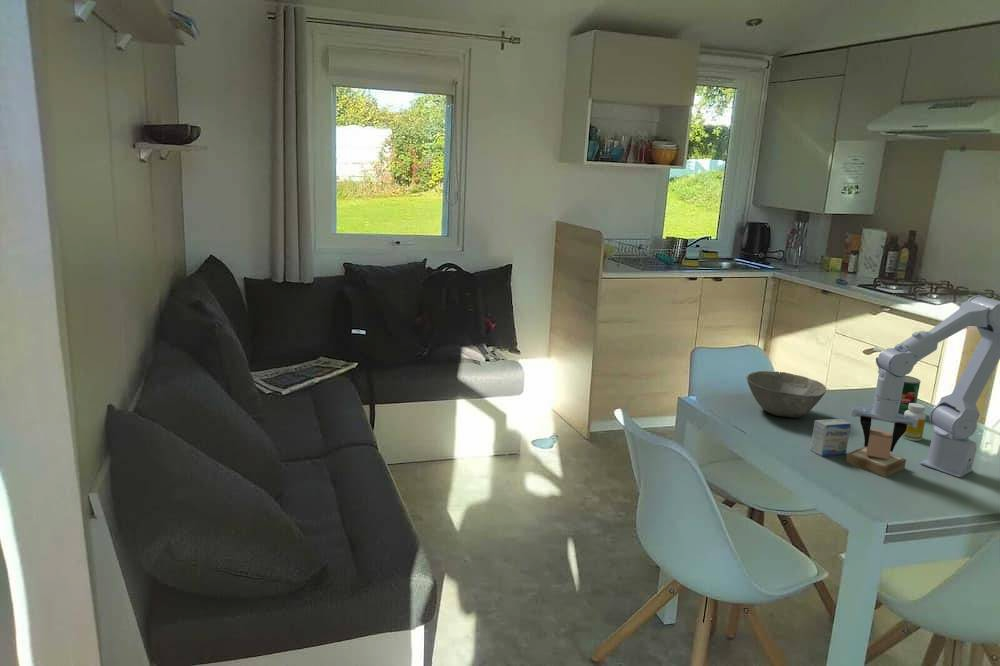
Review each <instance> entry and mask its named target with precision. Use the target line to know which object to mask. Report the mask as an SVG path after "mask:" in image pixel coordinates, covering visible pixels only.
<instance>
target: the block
mask: <svg viewBox="0 0 1000 666" xmlns="http://www.w3.org/2000/svg"><path fill="white" fill-rule="evenodd" d="M892 435H893V431H892V432H891V431H886V430H880V429H875V428H870V432H869V439H868V446H867V447H866V455H869V456H874V457H879V458H884V459H889V454H891V453H890V452H891V451H890V449H891V444H892Z"/></svg>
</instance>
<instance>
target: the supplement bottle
mask: <svg viewBox="0 0 1000 666" xmlns="http://www.w3.org/2000/svg"><path fill="white" fill-rule="evenodd" d="M908 409H909V410H907V411H905V412H904V415H906V416H909V417H914V418H918V424H917V428H915V427H912V426H908V425H907V430H906V431H905V433H904V434H903V435H902V436H901V437H900V438H902V439H905V440H908V441H914V442H917V441H918V442H919V441H921V440H922V439H923V436H924V430H925V424H926V420H927V416H926V413H924V412H925V411H926V410H925V409H926V406H925V405H923V404H922V403H918V402H916V403H909V406H908Z"/></svg>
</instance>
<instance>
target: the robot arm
mask: <svg viewBox="0 0 1000 666" xmlns="http://www.w3.org/2000/svg"><path fill="white" fill-rule="evenodd" d="M968 327H972V328H973V327H975V328H976V329H977V331H978V332H979V335H980V337H981V338H980V340H979V342H978V344H977V345H976V347H975V349H974V351H973V353H972V354H971V357H970V358H969V361H968V363H967V364H966V366H965V367H964V369H963V372H962V374H961V376H960V377H959V379H958V382H957V383H956V385H955V387H954V389H953V391H952V392H951V394H947V395H944V396H942V397H941V398H940V399H939V402H938V403H937V404H936V405H934V406H933V407H932V408H931V410H930V412H929V415H928V416H929V417H928V418H929V421H930V423H931V424H932V426H931V427H932V429H933V431H932V434H931V439H930V440H931V441H930V444H929V450H928V456H927V458H926V459H924V460H921V461H920V463H919V465H922V466H925V467H929V468H931V469H934V470H937V471H939V472H942V473H945V474H949V475H951V476H954V477H957V478H962V477H964V476H966V475H967V474H969V473H971V472H972V471H974V470H973V465H974V462H975V457H976V452H977V442H976V441H973V440H972V439H970V437H972V436H973V435H974V433H975V432H976V430H977V427H978V420H979V418H980V417H981V414H980V411H979V409H978V407H977V404H976V403H978V400H979V398H980V396H981V394H982V393H983V391H984V390H985V387H986V386H987V383H988V382H989V380H990V378H991V376H992V375H993V373H994V370H995V369H996V367H997V365H998V363H999V362H1000V300H996V299H993V298H989V297H986V296H984V295H979V294H978V295H977V294H976V295H973V296H971V297H970V298H969V299H968V300H965V301H964V302H962V303H961V304H960V306H959V308H958V309H957V310H956V311H954V312H953V313H952V314H950V315H948V316H947V317H946V318H945V319H943V320H942V321H941V322H939V323H938V324H937V325H935V326H934V327H933V328H931V329H930V330H928V331H925V330H920V331H914V332H913V333H912V334H911V335H912V336H910V337H909V338H907V339H906V340H903V341H901V343H897V344H896V345H894V347H890V348H885V349H884V350H882V351H880V353H879V355H878V356H877V357H875V364H876V367H878V371H877V374H878V377H877V382H876V386H875V387H876V389H875V392H874V399H873V404H872V408H864V407H855V406H853V407H852V410H851V414H850V415H851V417H853V418H854V417H856V418H857V417H859V419H860V424H861V428H862V432H863V437H864V444H863V447H867V446H868V439H869V432H870V429H871V427H872V420H876V421H880V422H881V421H882V422H886V423H893V430H892V444H891V449H890V452H891V453H893V451H894V449H895V447H896V445H897V443H898V441H899V440H900V438H902V437H901V436H902V435H903V434H904V433H905V431H906V430H907V425H908V426H912V427H915V428H917V424H918V418H914V417H909V416H906V415H902V414H898V412H899V406H900V401H901V396H902V391H903V386H904V380H905V376H907V375H909V374H910V373H911V372H912V371H913V369H914V366H915V365H917V363H918V362H920V361H921V360H923V359H924V358H926V357H928V356H929V355H930V354H932V353H934V352H935V351H937V349H938V345H939V343H940V342H942V341H944V340H946V339H948V338H949V337H952V336H953V335H955V334H957V333H959V332H961V331H962V330H964V329H966V328H968Z"/></svg>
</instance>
